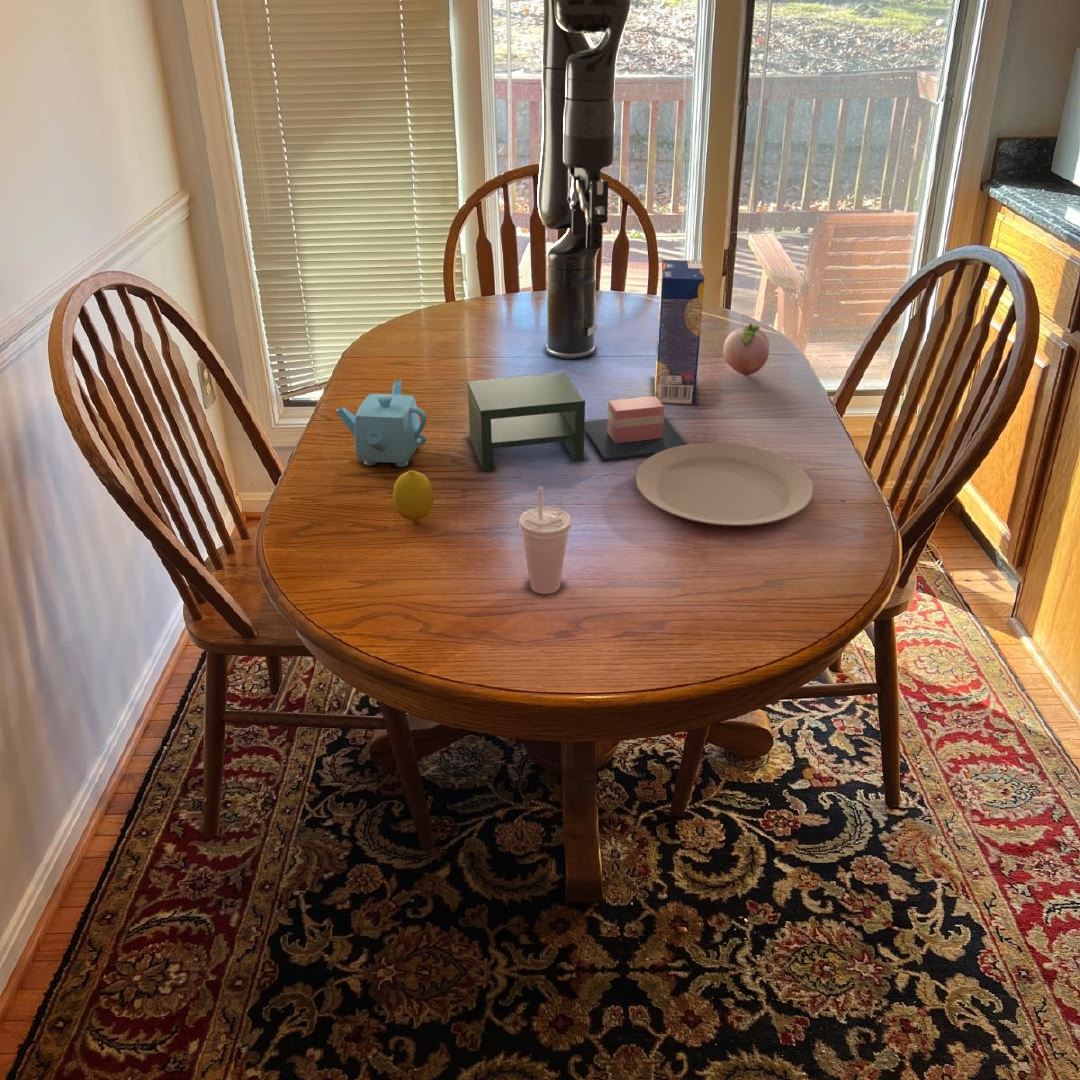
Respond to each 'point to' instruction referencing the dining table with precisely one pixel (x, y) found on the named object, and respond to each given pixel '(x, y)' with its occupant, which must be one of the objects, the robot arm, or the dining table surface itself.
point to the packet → (635, 419)
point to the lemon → (413, 496)
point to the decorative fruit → (746, 349)
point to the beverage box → (678, 330)
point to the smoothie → (545, 545)
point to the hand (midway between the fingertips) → (585, 241)
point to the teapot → (386, 427)
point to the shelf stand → (525, 414)
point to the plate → (724, 484)
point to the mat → (629, 449)
